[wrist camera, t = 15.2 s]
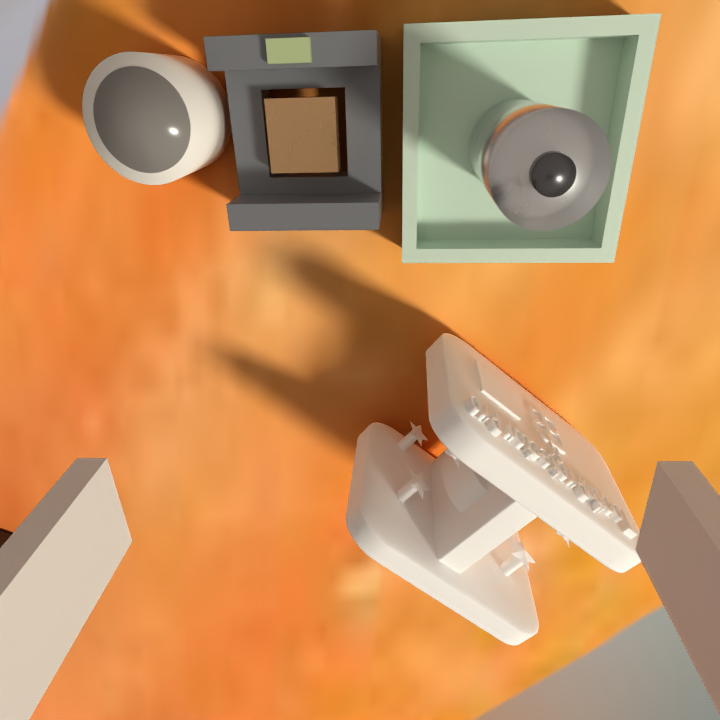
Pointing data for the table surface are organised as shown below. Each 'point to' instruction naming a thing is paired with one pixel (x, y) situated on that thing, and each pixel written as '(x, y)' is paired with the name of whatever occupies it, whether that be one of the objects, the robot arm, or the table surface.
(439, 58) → the tray
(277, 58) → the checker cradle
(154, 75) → the cup
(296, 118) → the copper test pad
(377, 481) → the cable organizer
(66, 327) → the table surface
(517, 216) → the steel cell
